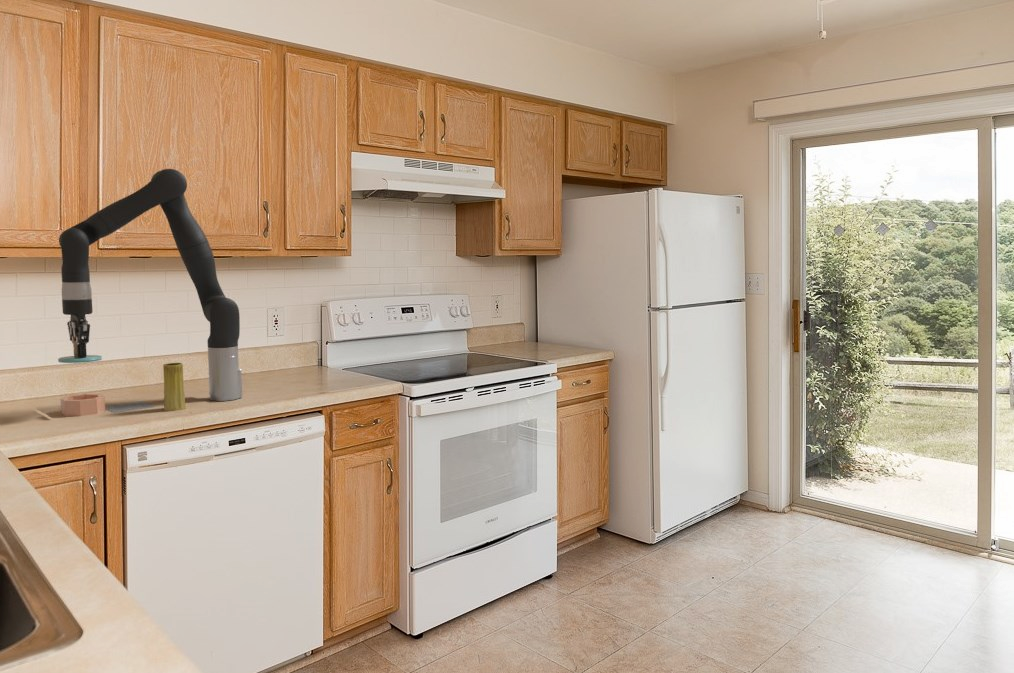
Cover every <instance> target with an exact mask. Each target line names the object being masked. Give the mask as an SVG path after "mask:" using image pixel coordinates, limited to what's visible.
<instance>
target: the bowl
mask: <svg viewBox="0 0 1014 673" xmlns="http://www.w3.org/2000/svg"><path fill="white" fill-rule="evenodd" d="M105 406H106V397H105V395H103V394H101V393H83V394H75V395H69V396H65V397H61V398H60V411H61V415H63V416H65V417H83V416H91V415H97V414H101V413H103V412H105V411H106V409H105Z"/></svg>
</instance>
